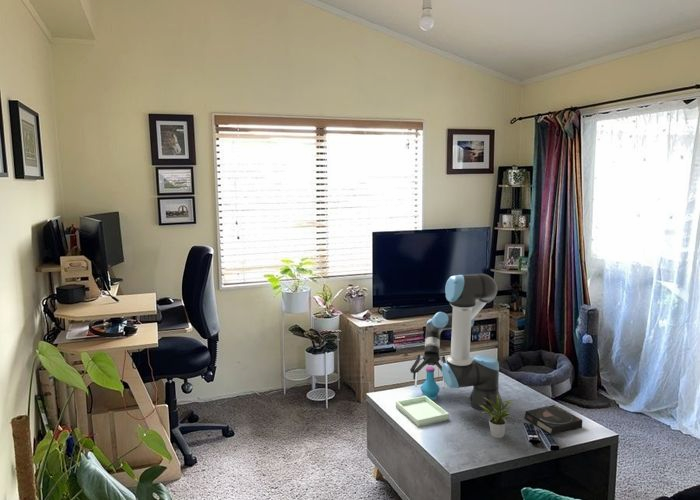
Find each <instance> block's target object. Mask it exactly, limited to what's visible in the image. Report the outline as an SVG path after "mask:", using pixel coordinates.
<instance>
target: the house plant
mask: <svg viewBox="0 0 700 500" xmlns="http://www.w3.org/2000/svg"><path fill="white" fill-rule="evenodd" d="M483 398H484V397H483ZM485 399H487V398H485ZM487 400H488V402H489V403H490V404H492V405H491V406H493V407H492V408H493V410H494V411H493V410H492V411H490V410H488V409H487V408H485V407H484V406H481V405H480V406H481V407H482V408H483V409H484V410H485V411H483V412H481V413H482V414H488V415H490V418H489V419H488V424H489V429H490V431H489V432H490V435H491V436H492V437H493V438H496V439H501V438H503V437H504V436H505V430H506V428H507V427H506V426H507V420H506V419H504V418H508V419H510V418H511V417H510V414H511V412H510V411H509V410H507V407H508V406H509V405H510V404H511V403H512V402H513V401H515V400H516V399H510V400H506V401H504V402H503V399H502V398H501V402H500V404H499V397H498V395H497V400H496V405H497V407H496V405H495V404H494V405H495V406H494V405H493V403H494V402H493V401H492V402H493V403H492V402H491V401H490V400H489V399H487ZM484 404H486V403H484ZM504 404H505V405H504ZM486 405H487V404H486ZM495 407H496V408H495ZM509 413H510V414H509Z"/></svg>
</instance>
